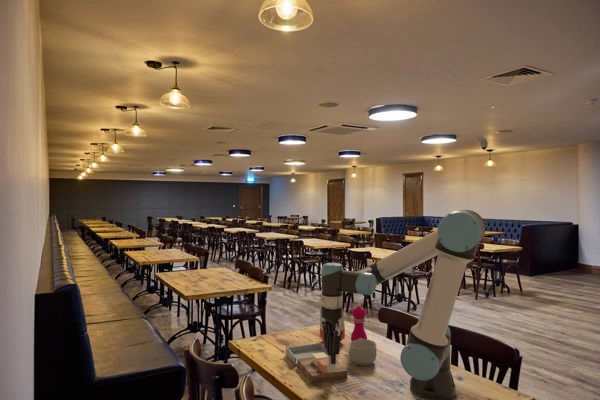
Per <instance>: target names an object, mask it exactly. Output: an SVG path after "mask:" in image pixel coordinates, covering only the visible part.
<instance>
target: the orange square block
mask: <svg viewBox="0 0 600 400" xmlns="http://www.w3.org/2000/svg"><path fill="white" fill-rule="evenodd" d="M318 369H319V370H320V371H321V372H322V373H323V374H324V373H329V372H328V371H327V359H322V360H318Z"/></svg>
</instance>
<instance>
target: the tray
mask: <svg viewBox="0 0 600 400" xmlns="http://www.w3.org/2000/svg"><path fill="white" fill-rule="evenodd" d="M321 352H324V353H325V354H326V355H327V349H325V346H324V343H322V342H317V343H309V344H302V345H294V346H293V345H292V346H286V347H285V357H287V358H288V360H289V361H290V362H291V363H292V364H293V366H294V367H298V359H301V358H308V357H312V354H314V353H321Z"/></svg>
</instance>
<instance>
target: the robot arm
mask: <svg viewBox="0 0 600 400" xmlns="http://www.w3.org/2000/svg"><path fill="white" fill-rule="evenodd" d="M485 234H486V223H485V220H484V219H483V217H482V216H481V215H480V214H478V213H477V212H476V211H474V210H469V209H462V210H461V209H459V210H458V209H457V210H453V211H451V212H449V213H447V214H446V215H445V216H444V217H442V218H441V220H440V222H439V224H438V226H437V229H436V230H435V231H433V232H431V233H428V234H426V235H425V236H423V237H422V238H419V239H417V240H416V241H414V242H412V243H410V244H408V245H405V246H404V247H403V248H400V249H399V250H397V251H395V252H392V253H391V254H389V255H387V256H385V257H383V258H382V259H379V260H378V261H376V262H373V263H372V264H370V265H368V266H366V267H363V268H360V269H358V270H357V271H354V270H346V269H345V270H344V268H343V264H342V263H339V262H326V263H324V264H323V265H322V266H321V276H320V277H321V297H320V301H321V308H322V311H321V315H322V317H323V318H324V319H325V321H322V326H323V334H324V341H323V345H324V346H325V349H327V371H328V372H329V373H332V372H336V360H337V355H340V352H341V351H340V350H341V343H342V340H341V336H342V333H343V332H342V330H339V321H338V320H339V319H340V318H342V310H343V293H349V294H356V295H361V296H364V295H365V296H372V295H373V294H374V293H375V292H376V289H377V286H378V285H380V284H382V283H384V282H386V281H387V280H390V279H392V278H394V277H396V276H398V275H400V274H402V273H404V272H406V271H408V270H410V269H413V268H414V267H416V266H418V265H420V264H423V263H424V262H426V261H428V260H431V259H432V258H434V257H437V258H436V261H435V265H434V267H433V271H432V274H431V278H430V281H429V284H428V288H427V291H426V295H425V298H424V301H423V305H422V308H421V312H420V316H419V318H418V321H417V323H415V325H413V326H411V328H410V331H409V334H408V338H407V340H406V344H405V346H404V347H402V350H401V352H400V363H401V366H402V368H403V370H404V371H405V372H406V374H408V375H409V376H410V380H409V387H410V390H411V392H412V393H413V394H415V395H416V396H418V397H421V398H423V399H426V400H452V399H453V398H454V397H456V392H457V390H456V389H457V388H456V387H457V386H456V383H455V381H454V380H455V379H454V378H453V375H452V371H451V337H452V335H451V329H450V327H449V326H448V325H449V323H450V319H451V316H452V314H453V310H454V307H455V303H456V300H457V297H458V293H459V292H460V288H461V284H462V281H463V277H464V276H465V275H464V274H465V271H466V269H467V266H468V265H467V264H469V263H470V262H473V261H475V258H476V255H477V251H478V248H479V245H480V241H481V240H482V239H483V238H484V236H485Z"/></svg>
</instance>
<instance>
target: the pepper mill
mask: <svg viewBox="0 0 600 400" xmlns="http://www.w3.org/2000/svg"><path fill="white" fill-rule="evenodd" d="M351 311H352V312H351V313H352V317H353V322H354V328H353V331H352V333H351V334H350V335H351V336H350V340H351V341H350V342H352V341H354V340H358V339H359V338H362V339H367V340H368V336H367V333H366V331H365V326H364V323H365V320H366V318H365V317H366V315H367V312H366V309H365V308H364V307H362V304H361V303H357V304H356V307H354V308H353V309H352V310H351Z"/></svg>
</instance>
